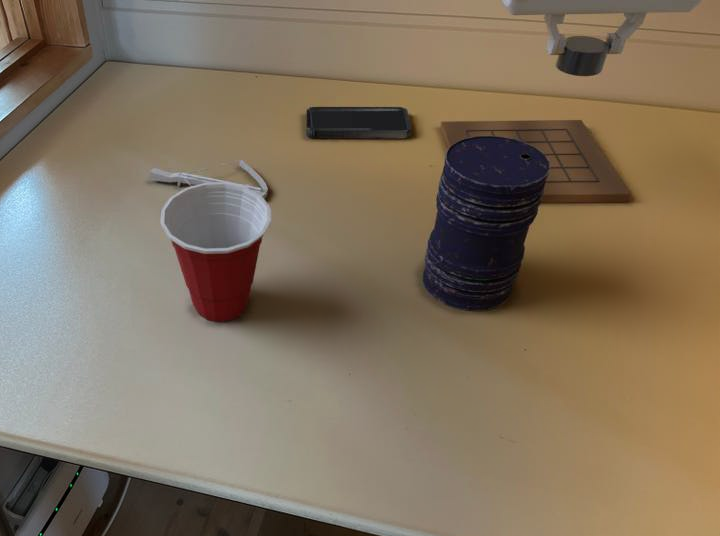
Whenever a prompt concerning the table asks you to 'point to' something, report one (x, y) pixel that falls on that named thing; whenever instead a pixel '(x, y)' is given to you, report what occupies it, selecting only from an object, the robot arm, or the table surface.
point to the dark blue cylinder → (483, 220)
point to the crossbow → (196, 179)
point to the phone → (357, 122)
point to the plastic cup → (217, 244)
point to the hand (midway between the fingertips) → (582, 52)
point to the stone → (583, 56)
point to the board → (555, 156)
